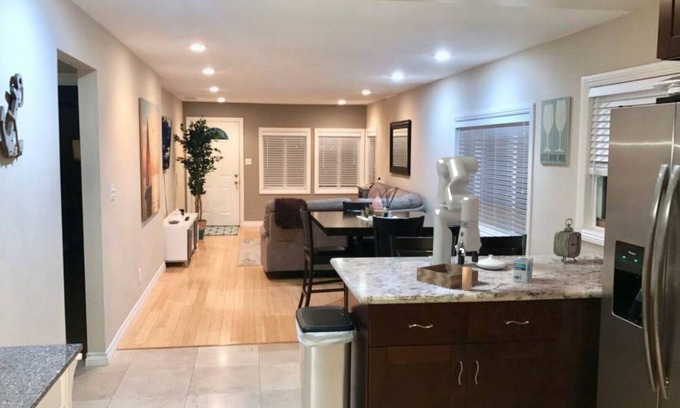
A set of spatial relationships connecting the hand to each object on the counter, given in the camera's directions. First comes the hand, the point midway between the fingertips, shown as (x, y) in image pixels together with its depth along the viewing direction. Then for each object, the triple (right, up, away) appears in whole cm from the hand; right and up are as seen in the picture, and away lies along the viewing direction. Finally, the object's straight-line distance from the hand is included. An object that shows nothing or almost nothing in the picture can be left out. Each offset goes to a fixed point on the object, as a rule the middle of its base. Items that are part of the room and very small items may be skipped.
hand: (467, 263), depth 250 cm
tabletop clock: (+71, -7, +71) cm, 100 cm away
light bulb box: (+31, -11, +23) cm, 40 cm away
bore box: (-6, -10, +16) cm, 20 cm away
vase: (+23, -8, +50) cm, 55 cm away
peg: (0, -12, +2) cm, 12 cm away
